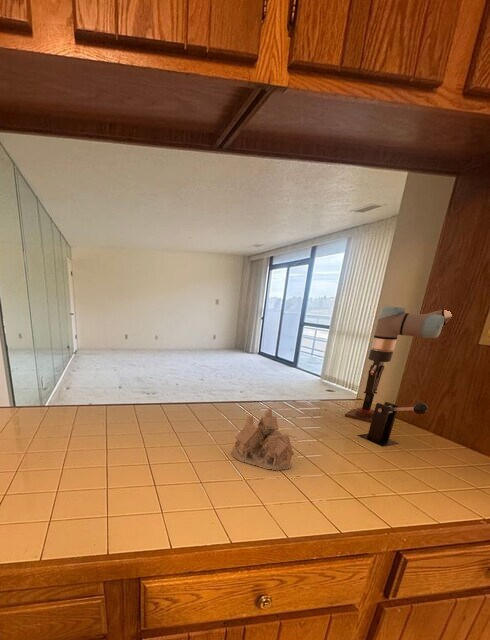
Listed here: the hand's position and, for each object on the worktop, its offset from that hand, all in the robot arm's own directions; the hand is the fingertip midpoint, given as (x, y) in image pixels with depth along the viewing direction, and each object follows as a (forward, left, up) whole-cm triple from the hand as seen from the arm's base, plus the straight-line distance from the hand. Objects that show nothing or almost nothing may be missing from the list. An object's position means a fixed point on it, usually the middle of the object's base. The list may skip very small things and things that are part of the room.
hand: (366, 409), depth 139 cm
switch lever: (-6, +28, +8) cm, 30 cm away
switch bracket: (-2, +24, -5) cm, 25 cm away
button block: (0, 0, -5) cm, 5 cm away
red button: (0, 0, -2) cm, 2 cm away
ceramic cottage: (+33, +55, -5) cm, 64 cm away
